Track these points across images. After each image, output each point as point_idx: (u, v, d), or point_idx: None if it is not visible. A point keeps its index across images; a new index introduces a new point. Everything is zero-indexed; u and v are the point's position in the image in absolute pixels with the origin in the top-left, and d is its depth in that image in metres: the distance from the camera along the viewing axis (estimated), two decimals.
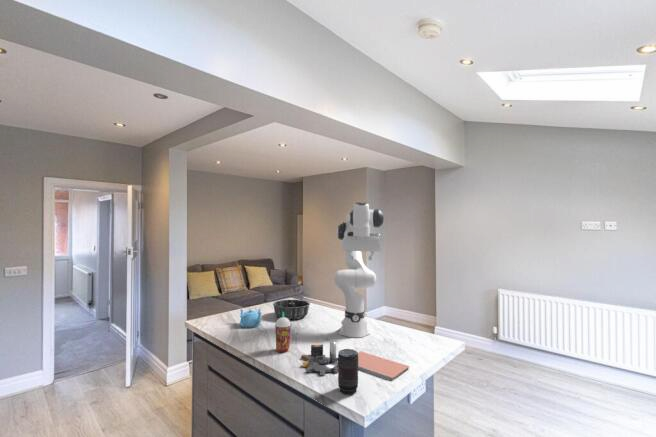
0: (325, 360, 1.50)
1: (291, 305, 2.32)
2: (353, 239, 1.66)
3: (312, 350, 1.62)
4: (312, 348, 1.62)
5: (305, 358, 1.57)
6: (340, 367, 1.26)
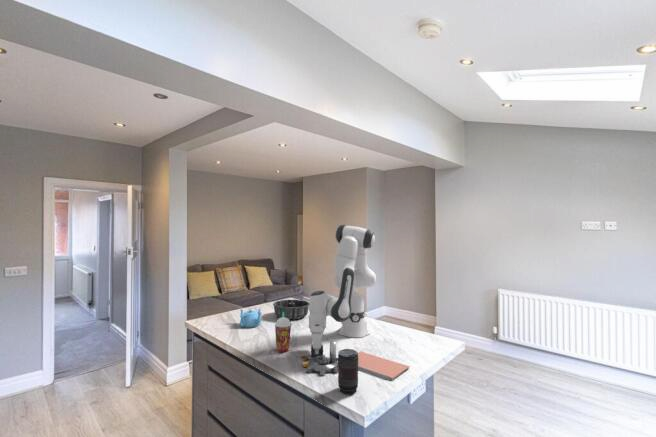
0: (325, 360, 1.50)
1: (291, 305, 2.32)
2: None
3: (312, 350, 1.62)
4: (312, 348, 1.62)
5: (305, 358, 1.57)
6: (340, 367, 1.26)
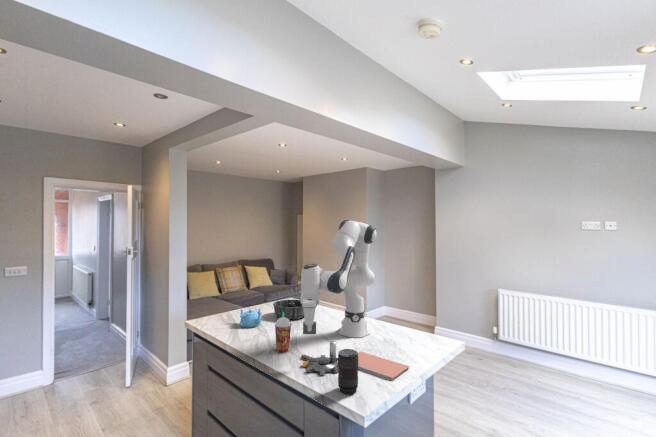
0: (325, 360, 1.50)
1: (291, 305, 2.32)
2: None
3: (304, 327, 1.49)
4: (304, 325, 1.49)
5: (305, 358, 1.57)
6: (340, 367, 1.26)
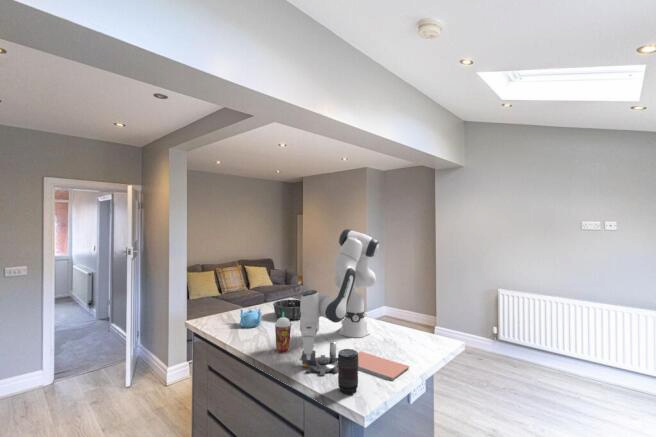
0: (325, 360, 1.50)
1: (291, 305, 2.32)
2: None
3: (303, 357, 1.49)
4: (303, 354, 1.49)
5: None
6: (340, 367, 1.26)
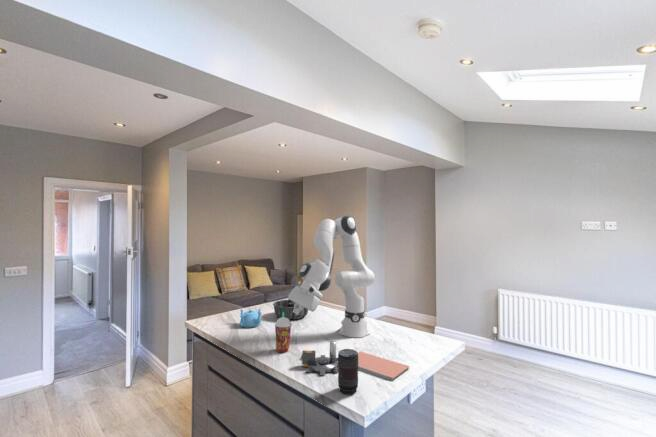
0: (325, 360, 1.50)
1: (291, 305, 2.32)
2: None
3: (303, 357, 1.49)
4: (303, 354, 1.49)
5: None
6: (340, 367, 1.26)
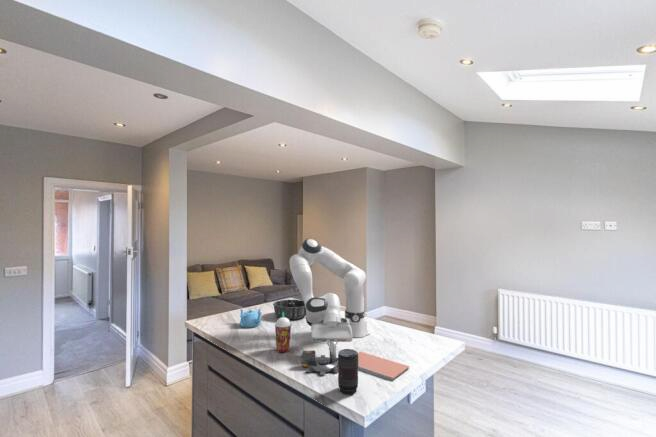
0: (325, 360, 1.50)
1: (291, 305, 2.32)
2: None
3: (303, 357, 1.49)
4: (303, 354, 1.49)
5: None
6: (340, 367, 1.26)
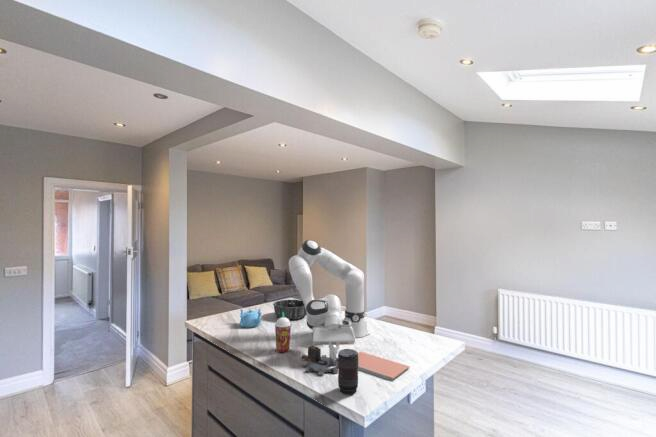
0: (324, 361, 1.50)
1: (291, 305, 2.32)
2: None
3: (308, 351, 1.56)
4: (308, 349, 1.56)
5: (305, 358, 1.57)
6: (340, 367, 1.26)
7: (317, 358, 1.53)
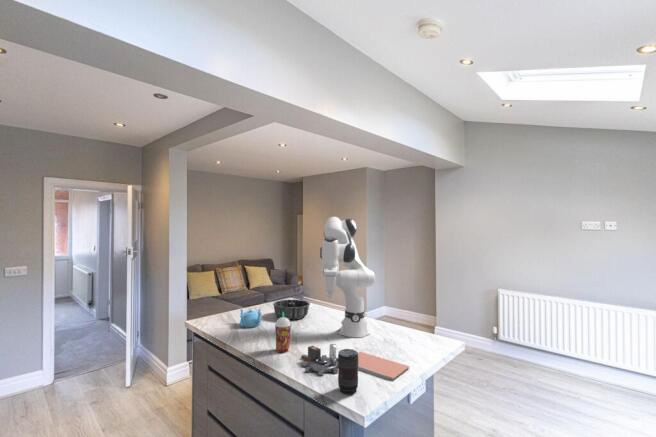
0: (324, 361, 1.50)
1: (291, 305, 2.32)
2: None
3: (308, 351, 1.56)
4: (308, 349, 1.56)
5: (305, 358, 1.57)
6: (340, 367, 1.26)
7: (317, 358, 1.53)
